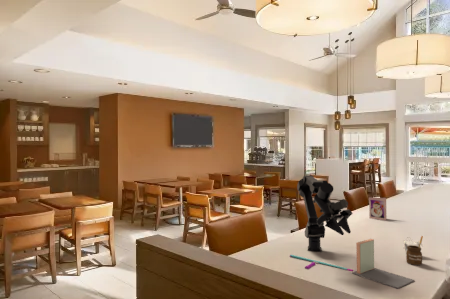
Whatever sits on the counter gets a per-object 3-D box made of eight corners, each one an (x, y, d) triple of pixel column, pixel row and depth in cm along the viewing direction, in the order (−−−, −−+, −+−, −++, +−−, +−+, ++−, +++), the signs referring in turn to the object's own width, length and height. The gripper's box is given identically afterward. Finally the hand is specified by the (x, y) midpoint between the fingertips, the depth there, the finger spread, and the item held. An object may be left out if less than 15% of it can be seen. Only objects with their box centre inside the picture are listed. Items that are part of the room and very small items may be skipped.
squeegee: (279, 259, 144) (290, 253, 151) (279, 263, 144) (290, 257, 151) (344, 276, 125) (353, 269, 132) (344, 280, 125) (353, 273, 132)
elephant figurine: (417, 252, 155) (416, 237, 155) (424, 258, 146) (424, 243, 146) (399, 251, 157) (399, 236, 157) (406, 257, 148) (405, 242, 148)
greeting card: (368, 218, 235) (368, 197, 235) (373, 216, 240) (373, 196, 240) (385, 220, 227) (385, 199, 227) (389, 219, 232) (389, 198, 232)
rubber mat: (352, 273, 129) (352, 272, 129) (369, 267, 136) (369, 266, 136) (397, 288, 114) (397, 287, 114) (414, 281, 121) (414, 279, 121)
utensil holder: (404, 260, 144) (404, 233, 144) (420, 261, 142) (420, 234, 143) (408, 264, 139) (407, 236, 139) (424, 266, 137) (424, 237, 137)
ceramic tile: (356, 272, 129) (356, 242, 129) (371, 267, 134) (370, 238, 135) (360, 274, 127) (360, 243, 128) (374, 268, 133) (374, 239, 133)
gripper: (321, 195, 137) (344, 225, 128) (348, 191, 148) (371, 219, 139) (307, 210, 144) (328, 241, 135) (334, 206, 154) (355, 234, 145)
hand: (346, 233), depth 138 cm, fingers open, 4 cm apart
